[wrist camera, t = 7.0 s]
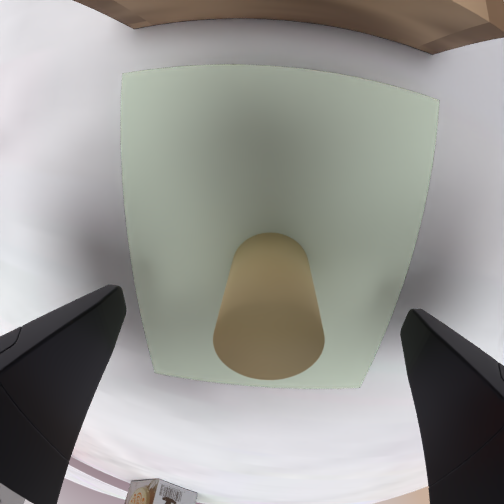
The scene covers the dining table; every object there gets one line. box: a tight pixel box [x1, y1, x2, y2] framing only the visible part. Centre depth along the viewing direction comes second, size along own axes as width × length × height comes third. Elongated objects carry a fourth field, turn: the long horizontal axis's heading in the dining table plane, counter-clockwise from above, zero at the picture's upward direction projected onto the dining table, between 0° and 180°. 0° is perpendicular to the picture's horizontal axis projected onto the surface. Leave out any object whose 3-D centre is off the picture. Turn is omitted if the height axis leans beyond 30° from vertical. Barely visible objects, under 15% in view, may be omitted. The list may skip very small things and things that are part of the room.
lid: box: [121, 64, 439, 389], centre depth 9 cm, size 11×14×5 cm
